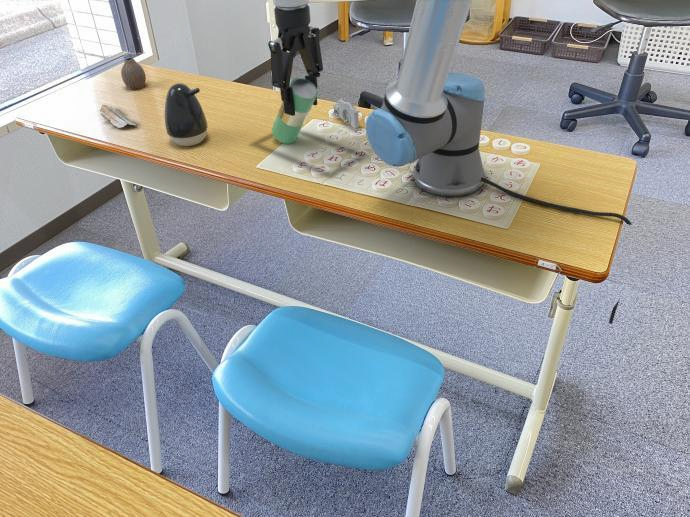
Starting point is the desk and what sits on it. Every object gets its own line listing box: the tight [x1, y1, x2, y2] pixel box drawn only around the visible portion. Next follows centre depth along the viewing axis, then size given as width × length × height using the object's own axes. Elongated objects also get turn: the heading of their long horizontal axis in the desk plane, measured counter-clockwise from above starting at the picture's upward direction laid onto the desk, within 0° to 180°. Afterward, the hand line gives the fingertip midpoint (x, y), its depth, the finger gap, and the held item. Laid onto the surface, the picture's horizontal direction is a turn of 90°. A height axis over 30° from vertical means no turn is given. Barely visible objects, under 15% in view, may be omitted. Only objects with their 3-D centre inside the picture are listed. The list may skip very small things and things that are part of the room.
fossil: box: [98, 104, 137, 129], centre depth 163 cm, size 18×3×4 cm
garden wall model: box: [332, 98, 361, 129], centre depth 154 cm, size 12×2×6 cm, turn 28°
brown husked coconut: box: [120, 57, 147, 90], centre depth 179 cm, size 7×7×9 cm
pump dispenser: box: [164, 82, 209, 147], centre depth 145 cm, size 10×10×15 cm
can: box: [271, 77, 318, 145], centre depth 141 cm, size 16×7×7 cm
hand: (301, 108), depth 138 cm, fingers closed on can, 7 cm apart
